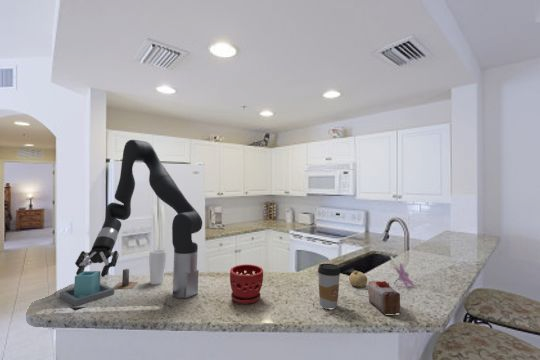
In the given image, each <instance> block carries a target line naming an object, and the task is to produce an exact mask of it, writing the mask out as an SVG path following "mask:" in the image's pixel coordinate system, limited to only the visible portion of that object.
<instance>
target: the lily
mask: <svg viewBox="0 0 540 360" xmlns="http://www.w3.org/2000/svg"><path fill="white" fill-rule="evenodd" d="M393 268H394V269H395V271H396V273H398V276H397V279H396V280H395V281H394V282H393V285H395V284H396V282H397V281H400V282H403V284H404V286H405V288H406V290H407V289H408V290H409V286H412V287H413V288H416V285H415V284H414V282H413V280H411V278H410V273H408V272H406V271H405V268H404V265H403V264H402V263H401V262H399V268H398V267H396V266H393Z"/></svg>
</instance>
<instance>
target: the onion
mask: <svg viewBox="0 0 540 360" xmlns="http://www.w3.org/2000/svg"><path fill="white" fill-rule="evenodd" d="M348 280H349V281H348V282H349V283H350V285H352V286H353V287H356V288H365V287H366V285H367V283H368V277H367V275H365V273H363V272H361V271H358V270H354V271H352V272H351V274H350V275H349V277H348Z"/></svg>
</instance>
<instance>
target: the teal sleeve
mask: <svg viewBox="0 0 540 360" xmlns="http://www.w3.org/2000/svg"><path fill="white" fill-rule="evenodd" d="M100 283H101V271H100V270H92V271H91V270H89V271H87V270H84V271H83V272H82V273H80V274H78V275H77V274H76V275H75V276H74V284H73V285H74V287H73V288H74V295H73V296H74V297H76V298H81V297H85V296H88V295H92V294H95V293H98V292H101V291H100Z"/></svg>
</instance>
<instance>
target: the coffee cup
mask: <svg viewBox="0 0 540 360" xmlns="http://www.w3.org/2000/svg"><path fill="white" fill-rule="evenodd" d="M317 273H318V295H319V296H318V297H319V305H320V307H321V306H322V307H325V308H336V309H337V307H338V301H339V300H338V298H339V288H340V274H341V269H340V267H339V265H337V264H334V263H321V264H319V266H318V268H317ZM322 307H321V308H322Z"/></svg>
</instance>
